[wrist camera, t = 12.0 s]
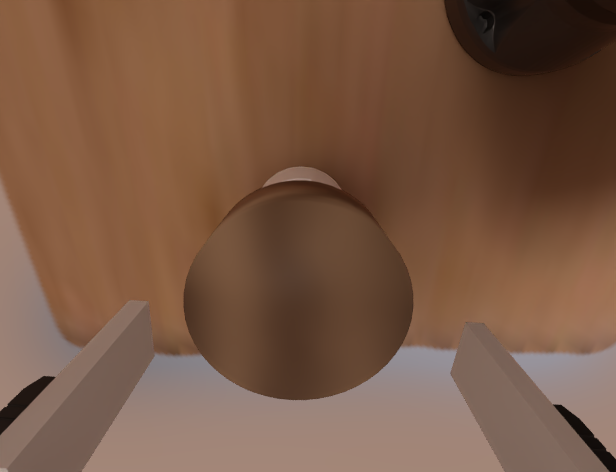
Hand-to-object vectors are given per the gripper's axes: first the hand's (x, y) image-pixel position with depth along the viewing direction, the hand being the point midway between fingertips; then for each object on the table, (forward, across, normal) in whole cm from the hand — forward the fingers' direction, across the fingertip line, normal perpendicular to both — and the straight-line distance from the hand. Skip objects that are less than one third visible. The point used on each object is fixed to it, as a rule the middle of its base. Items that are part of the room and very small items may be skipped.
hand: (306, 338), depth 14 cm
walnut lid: (+7, 0, 0) cm, 7 cm away
